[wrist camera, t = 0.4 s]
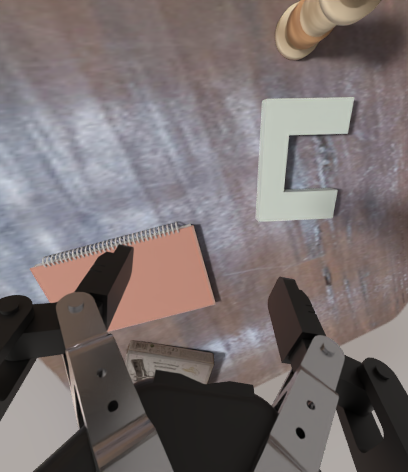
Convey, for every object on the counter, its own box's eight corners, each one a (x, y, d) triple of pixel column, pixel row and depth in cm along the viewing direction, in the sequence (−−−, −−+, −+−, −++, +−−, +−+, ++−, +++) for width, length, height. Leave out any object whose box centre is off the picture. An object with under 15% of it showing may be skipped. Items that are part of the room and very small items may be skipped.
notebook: (191, 216, 40) (191, 219, 38) (214, 298, 46) (215, 305, 44) (32, 258, 40) (25, 263, 39) (77, 333, 47) (72, 341, 45)
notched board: (262, 101, 34) (266, 98, 32) (345, 99, 35) (354, 97, 33) (255, 217, 40) (259, 221, 38) (325, 214, 41) (332, 218, 39)
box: (202, 388, 54) (202, 402, 51) (122, 377, 51) (118, 391, 49) (214, 350, 50) (216, 363, 48) (130, 337, 48) (126, 350, 45)
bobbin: (276, 6, 30) (331, -71, 19) (320, 6, 31) (399, -69, 19) (273, 60, 32) (320, 19, 21) (314, 60, 33) (381, 19, 22)
